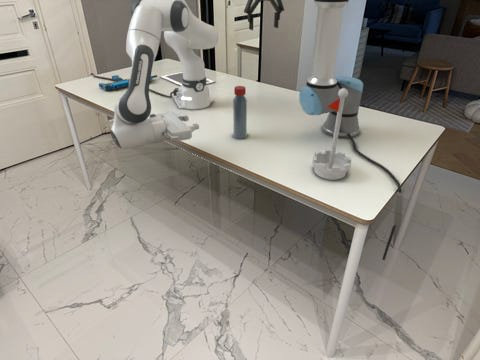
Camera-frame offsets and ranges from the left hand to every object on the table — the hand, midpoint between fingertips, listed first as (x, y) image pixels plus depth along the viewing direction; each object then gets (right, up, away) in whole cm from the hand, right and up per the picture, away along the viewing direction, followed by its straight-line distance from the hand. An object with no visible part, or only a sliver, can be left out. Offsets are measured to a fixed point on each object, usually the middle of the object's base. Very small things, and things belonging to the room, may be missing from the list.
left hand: (192, 121), depth 130 cm
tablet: (-15, +41, +84) cm, 95 cm away
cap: (+18, +14, +4) cm, 23 cm away
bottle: (+18, -3, +16) cm, 24 cm away
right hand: (+30, +51, +33) cm, 67 cm away
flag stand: (+50, -19, -9) cm, 55 cm away
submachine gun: (-51, +38, +79) cm, 101 cm away
